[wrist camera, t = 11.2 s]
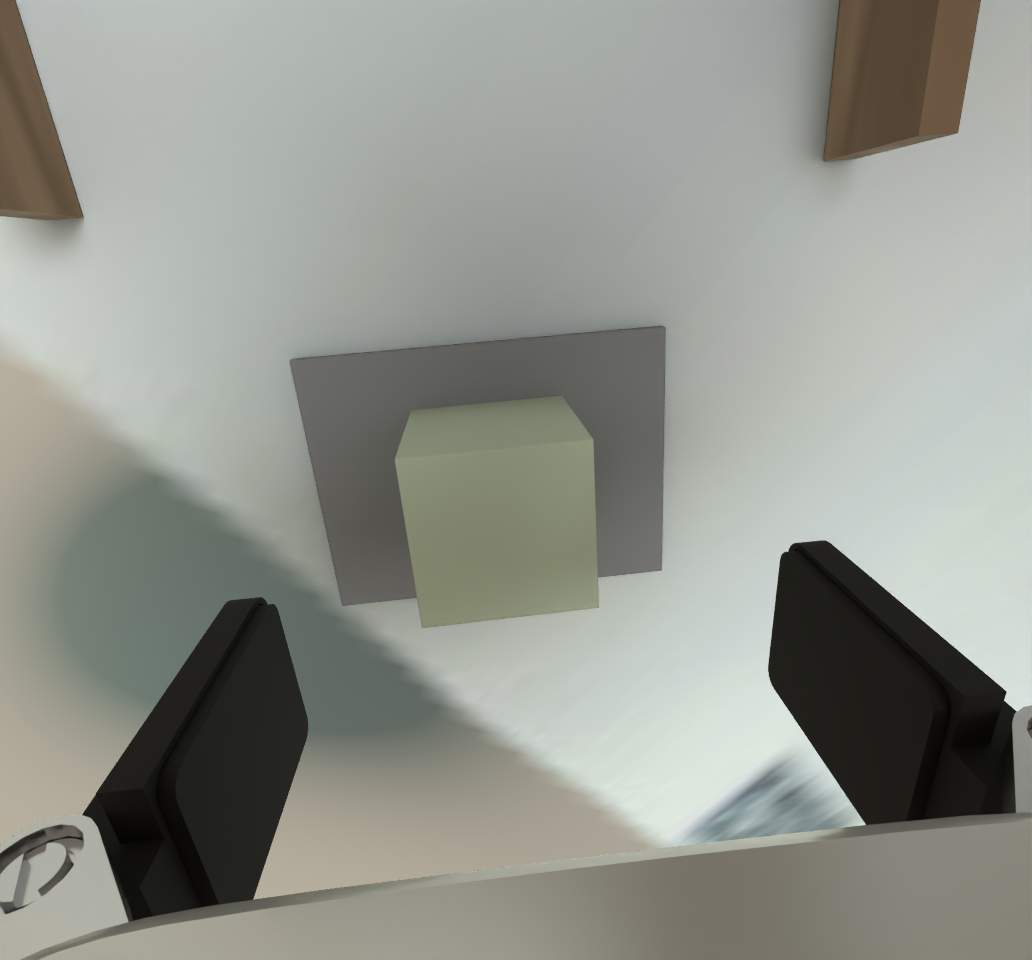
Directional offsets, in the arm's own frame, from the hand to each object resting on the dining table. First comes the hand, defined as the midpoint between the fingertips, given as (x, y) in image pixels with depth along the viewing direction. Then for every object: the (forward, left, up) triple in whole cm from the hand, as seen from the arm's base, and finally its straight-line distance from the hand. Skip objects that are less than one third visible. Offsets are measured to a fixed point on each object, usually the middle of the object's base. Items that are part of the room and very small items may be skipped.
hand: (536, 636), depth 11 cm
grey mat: (0, 0, -10) cm, 10 cm away
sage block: (0, 0, -10) cm, 10 cm away
